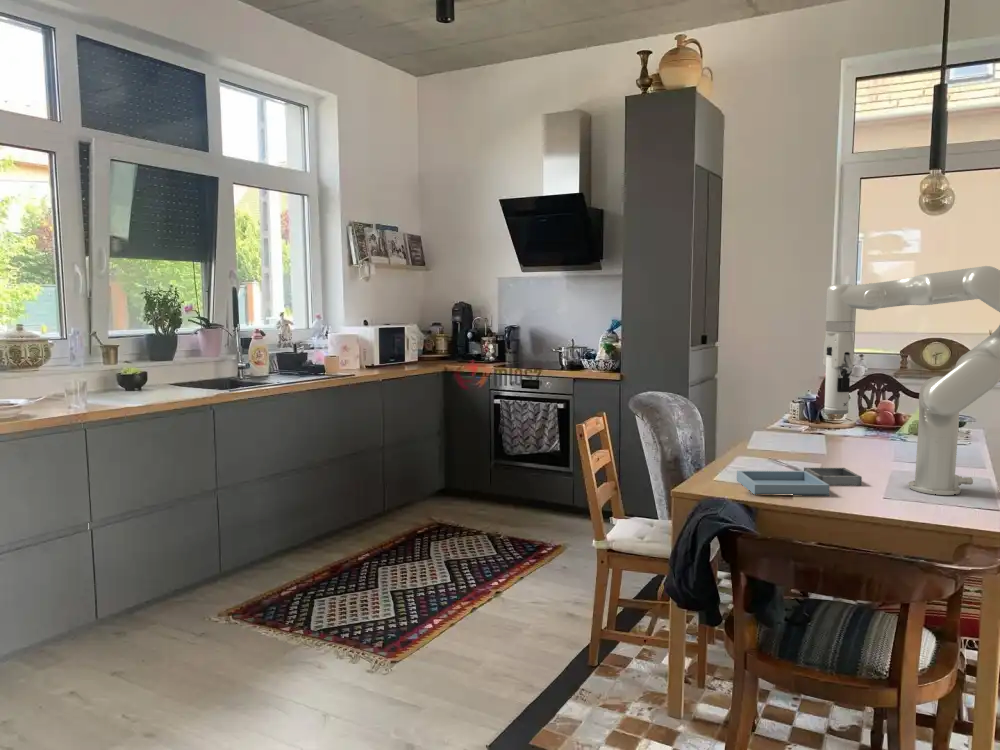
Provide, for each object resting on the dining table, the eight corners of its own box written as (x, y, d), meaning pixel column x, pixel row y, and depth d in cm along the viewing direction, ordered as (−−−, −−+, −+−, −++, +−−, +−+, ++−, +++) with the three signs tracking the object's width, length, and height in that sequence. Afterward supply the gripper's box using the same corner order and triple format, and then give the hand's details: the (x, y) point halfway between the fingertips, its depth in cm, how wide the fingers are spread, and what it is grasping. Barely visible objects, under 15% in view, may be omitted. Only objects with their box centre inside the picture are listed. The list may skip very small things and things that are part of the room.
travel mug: (851, 414, 211) (854, 344, 209) (827, 414, 212) (829, 344, 210) (846, 411, 217) (848, 342, 215) (822, 410, 219) (824, 342, 216)
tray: (805, 481, 216) (806, 471, 216) (829, 496, 200) (829, 485, 200) (736, 480, 217) (736, 470, 216) (754, 495, 201) (754, 484, 200)
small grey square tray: (843, 475, 223) (844, 467, 222) (861, 485, 212) (861, 476, 211) (803, 475, 223) (804, 467, 222) (818, 485, 212) (819, 476, 212)
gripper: (814, 326, 221) (812, 386, 223) (840, 329, 204) (837, 394, 206) (839, 326, 221) (837, 386, 223) (867, 329, 204) (865, 394, 206)
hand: (837, 389), depth 214 cm, fingers closed on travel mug, 6 cm apart
